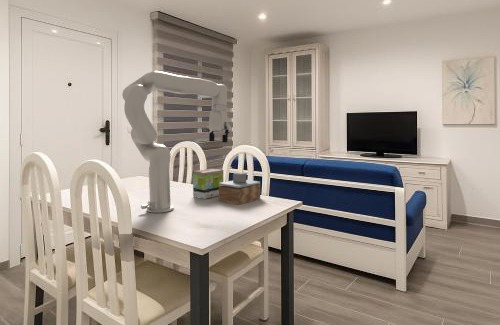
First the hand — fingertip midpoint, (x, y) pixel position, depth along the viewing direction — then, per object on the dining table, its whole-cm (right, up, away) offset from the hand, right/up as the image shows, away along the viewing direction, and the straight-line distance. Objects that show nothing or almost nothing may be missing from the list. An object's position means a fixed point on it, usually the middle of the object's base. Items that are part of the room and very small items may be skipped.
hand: (218, 141), depth 182 cm
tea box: (-7, -30, +16) cm, 35 cm away
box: (+11, -31, +6) cm, 33 cm away
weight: (+11, -22, +5) cm, 25 cm away
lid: (+11, -23, +5) cm, 26 cm away
